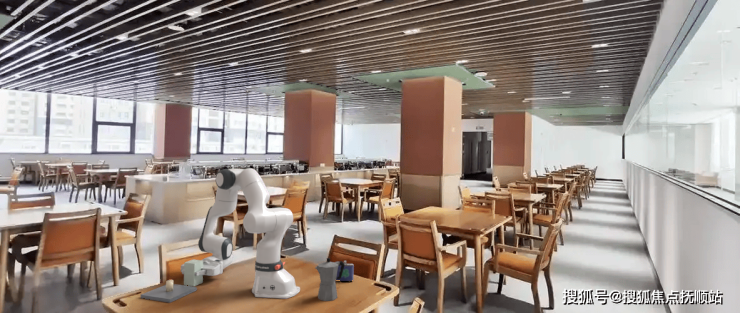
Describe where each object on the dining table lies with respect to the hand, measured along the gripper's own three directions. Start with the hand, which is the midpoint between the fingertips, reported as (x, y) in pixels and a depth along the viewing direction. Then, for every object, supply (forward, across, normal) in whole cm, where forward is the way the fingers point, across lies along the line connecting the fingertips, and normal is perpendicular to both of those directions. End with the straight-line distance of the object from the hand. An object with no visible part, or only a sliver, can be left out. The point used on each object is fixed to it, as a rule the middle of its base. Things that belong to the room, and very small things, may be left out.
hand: (189, 273), depth 183 cm
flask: (-32, +69, +6) cm, 76 cm away
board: (+12, 0, +6) cm, 14 cm away
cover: (-3, 0, +6) cm, 7 cm away
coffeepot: (-9, +70, +6) cm, 71 cm away
